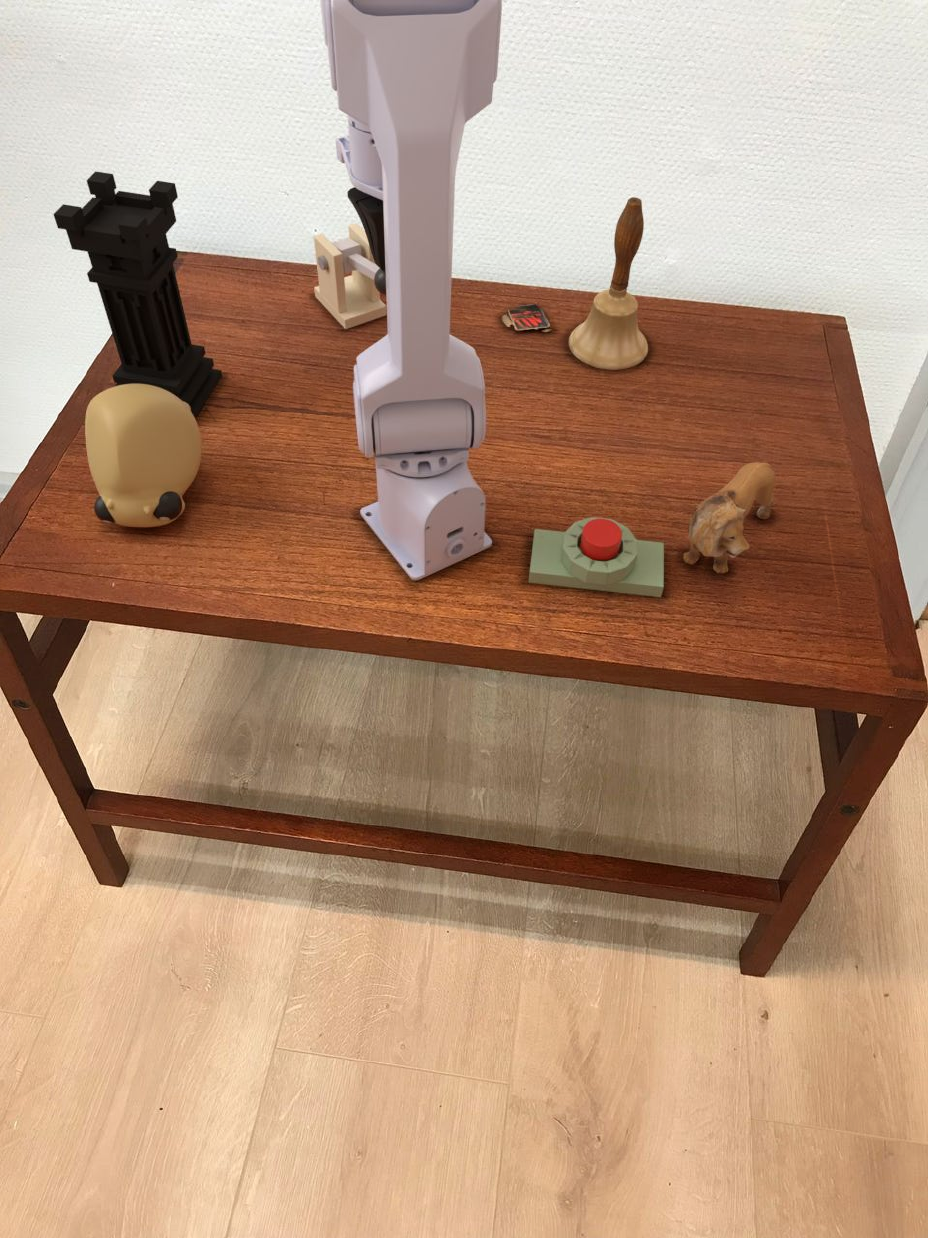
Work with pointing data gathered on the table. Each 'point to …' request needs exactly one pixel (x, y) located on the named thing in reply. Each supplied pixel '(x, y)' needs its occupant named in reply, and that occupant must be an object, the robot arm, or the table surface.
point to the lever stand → (346, 283)
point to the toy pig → (141, 454)
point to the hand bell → (615, 306)
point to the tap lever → (360, 263)
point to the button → (601, 539)
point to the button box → (597, 563)
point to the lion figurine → (729, 515)
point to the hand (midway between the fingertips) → (387, 264)
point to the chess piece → (140, 286)
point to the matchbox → (526, 318)
